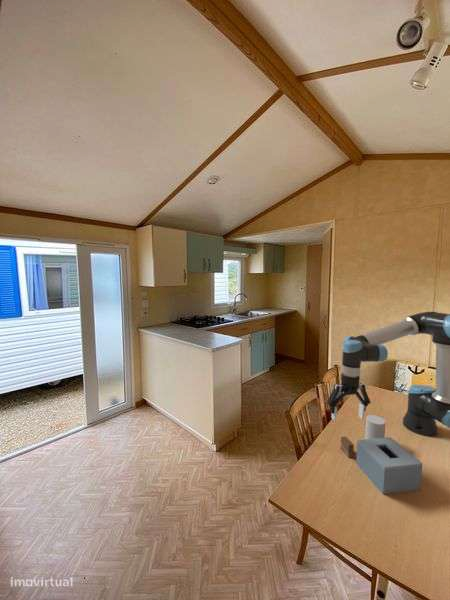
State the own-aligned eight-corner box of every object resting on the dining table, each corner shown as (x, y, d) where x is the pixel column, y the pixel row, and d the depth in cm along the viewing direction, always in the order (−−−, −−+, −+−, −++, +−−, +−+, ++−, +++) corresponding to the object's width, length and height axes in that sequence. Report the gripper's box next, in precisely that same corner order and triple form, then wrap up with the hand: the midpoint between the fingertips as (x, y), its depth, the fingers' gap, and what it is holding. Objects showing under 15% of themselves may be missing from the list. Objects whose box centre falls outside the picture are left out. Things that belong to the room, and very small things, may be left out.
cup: (386, 448, 122) (388, 425, 121) (368, 446, 124) (369, 423, 123) (380, 438, 130) (381, 415, 129) (362, 436, 132) (364, 414, 131)
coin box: (389, 460, 115) (390, 437, 114) (420, 489, 99) (422, 463, 98) (356, 463, 113) (357, 440, 112) (382, 494, 97) (384, 467, 96)
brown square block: (345, 448, 123) (345, 436, 122) (353, 457, 117) (353, 444, 116) (340, 448, 123) (341, 436, 122) (348, 457, 117) (348, 445, 116)
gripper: (369, 370, 121) (366, 412, 123) (320, 372, 118) (318, 415, 120) (381, 376, 114) (377, 421, 116) (329, 378, 111) (326, 425, 113)
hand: (347, 418), depth 118 cm, fingers open, 13 cm apart
